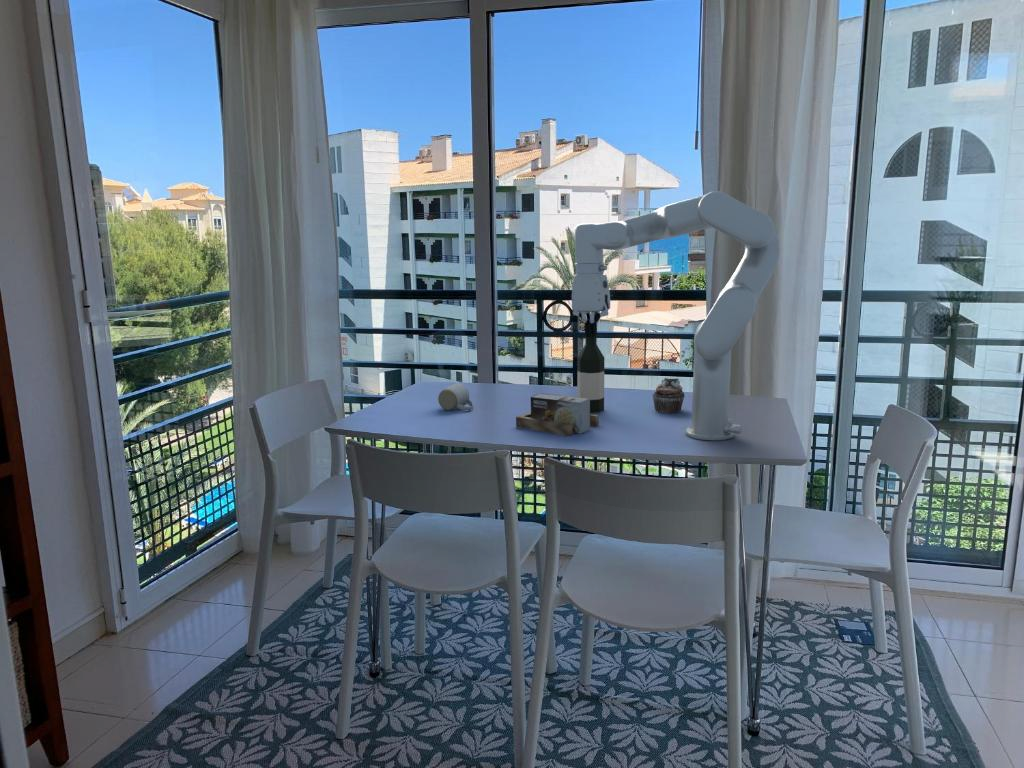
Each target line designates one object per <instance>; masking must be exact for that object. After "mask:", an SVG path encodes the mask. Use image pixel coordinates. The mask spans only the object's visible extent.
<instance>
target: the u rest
mask: <svg viewBox="0 0 1024 768" xmlns="http://www.w3.org/2000/svg"><path fill="white" fill-rule="evenodd" d="M599 417H600V415H598V414H595V413H590V427H591V426H592V427H597V426H599V425H600V418H599ZM515 427H516V428H519V427H520V429H525V428H526V430H530V429H531V430H530V431H535V430H536V431H537V432H540V433H546V432H547V434H552V435H558V436H562V435H563V437H567V436H570V437H573V433H572V425H569V424H564V423H558V422H552V421H546V420H541V419H535V418H531V411H530V412H526V413H524V414H520V415H518V416H515Z"/></svg>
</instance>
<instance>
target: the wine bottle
mask: <svg viewBox="0 0 1024 768" xmlns="http://www.w3.org/2000/svg"><path fill="white" fill-rule="evenodd" d="M597 334H598V333H597ZM597 334H596V337H592V338H589V337H586V335H585V334H584V335H585V341H584V342H585V344H584V346H583V347H582V349H581V351H580V352H579V354H578V356H577V358H576V359H577V369H576V370H577V376H576V377H577V379H576V380H577V385H576V387H577V392H576V393H577V396H576V398H584V399H590V414H595V413H597V414H599V413H601V412H604V411H605V356H604V355H603V353H602V351H601V350H600V348H599V346H598V344H597V337H598V336H597Z"/></svg>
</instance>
